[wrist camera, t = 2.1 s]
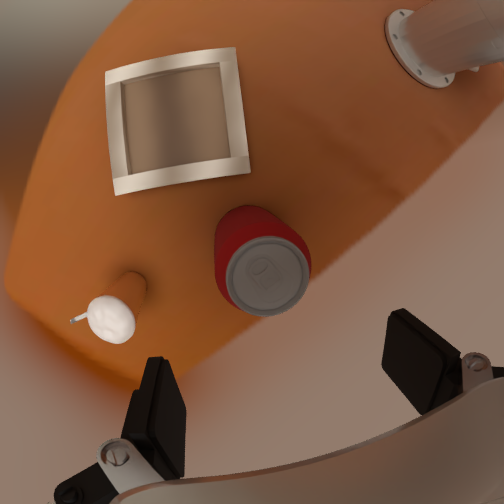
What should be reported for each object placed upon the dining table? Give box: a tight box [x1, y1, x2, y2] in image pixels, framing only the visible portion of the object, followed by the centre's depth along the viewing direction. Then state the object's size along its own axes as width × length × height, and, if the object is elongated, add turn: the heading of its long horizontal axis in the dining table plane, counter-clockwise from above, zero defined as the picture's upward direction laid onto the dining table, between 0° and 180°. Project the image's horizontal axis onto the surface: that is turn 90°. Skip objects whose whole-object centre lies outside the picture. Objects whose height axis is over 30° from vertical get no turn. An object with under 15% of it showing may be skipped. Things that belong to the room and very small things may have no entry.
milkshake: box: [71, 271, 147, 344], centre depth 24 cm, size 4×5×10 cm
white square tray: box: [105, 47, 251, 196], centre depth 23 cm, size 12×12×4 cm
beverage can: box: [214, 206, 311, 317], centre depth 23 cm, size 7×7×12 cm
